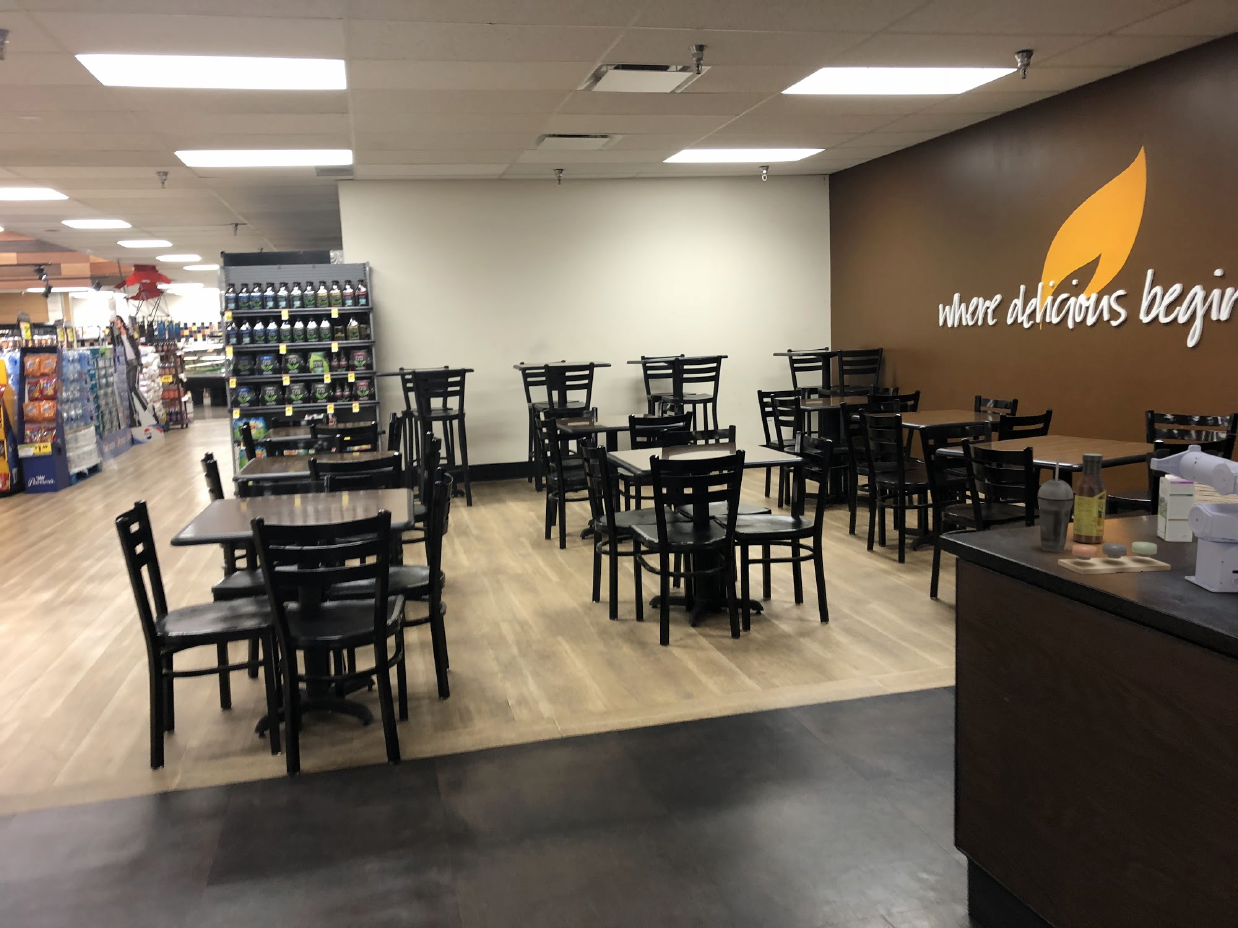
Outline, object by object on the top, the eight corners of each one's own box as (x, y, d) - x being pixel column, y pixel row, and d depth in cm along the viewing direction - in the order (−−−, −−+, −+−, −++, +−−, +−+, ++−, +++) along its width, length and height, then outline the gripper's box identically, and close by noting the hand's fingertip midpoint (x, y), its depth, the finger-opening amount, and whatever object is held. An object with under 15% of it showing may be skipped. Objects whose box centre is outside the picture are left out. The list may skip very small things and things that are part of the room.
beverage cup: (1033, 551, 202) (1037, 460, 199) (1035, 544, 209) (1040, 456, 206) (1070, 555, 199) (1075, 462, 196) (1071, 547, 205) (1076, 457, 202)
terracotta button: (1087, 555, 190) (1088, 543, 190) (1101, 560, 186) (1101, 548, 185) (1067, 556, 189) (1068, 544, 189) (1080, 561, 185) (1081, 549, 185)
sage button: (1146, 552, 192) (1147, 541, 191) (1161, 557, 187) (1162, 546, 187) (1126, 553, 191) (1127, 542, 191) (1141, 558, 187) (1141, 547, 186)
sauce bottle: (1102, 545, 207) (1108, 457, 204) (1071, 542, 210) (1076, 455, 207) (1103, 539, 212) (1109, 453, 209) (1073, 537, 215) (1078, 451, 212)
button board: (1143, 560, 194) (1143, 555, 194) (1170, 570, 186) (1170, 565, 186) (1057, 564, 191) (1058, 559, 191) (1081, 574, 183) (1082, 569, 183)
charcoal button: (1117, 553, 191) (1117, 542, 190) (1131, 559, 186) (1132, 547, 186) (1097, 554, 190) (1097, 543, 190) (1110, 560, 186) (1111, 548, 185)
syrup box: (1192, 542, 209) (1198, 478, 207) (1164, 541, 210) (1168, 477, 208) (1183, 536, 214) (1187, 474, 212) (1154, 535, 215) (1159, 473, 213)
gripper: (1248, 449, 177) (1204, 439, 190) (1171, 448, 177) (1133, 437, 190) (1243, 486, 178) (1200, 473, 192) (1166, 484, 178) (1129, 471, 192)
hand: (1166, 457), depth 191 cm, fingers open, 7 cm apart
